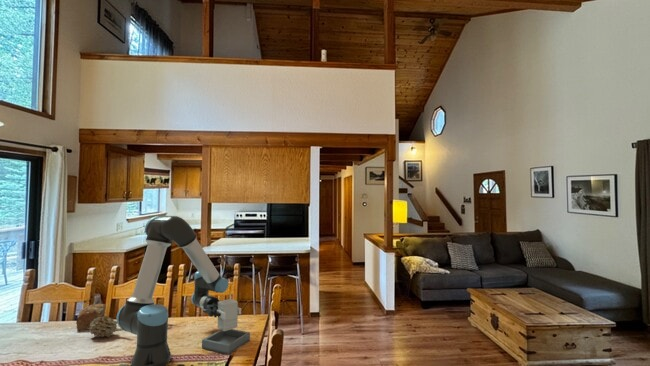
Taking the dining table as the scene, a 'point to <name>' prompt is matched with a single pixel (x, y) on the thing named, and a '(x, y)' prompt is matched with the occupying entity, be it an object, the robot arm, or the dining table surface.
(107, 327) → the pine cone
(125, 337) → the dining table surface
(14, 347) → the dining table surface
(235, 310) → the supplement box
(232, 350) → the box
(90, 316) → the bread
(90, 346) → the dining table surface
